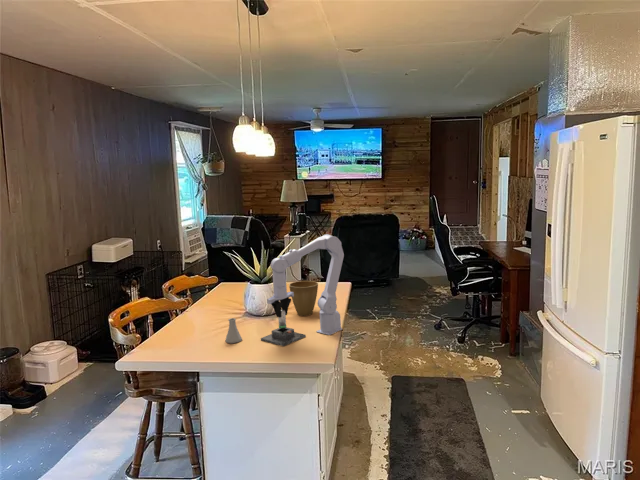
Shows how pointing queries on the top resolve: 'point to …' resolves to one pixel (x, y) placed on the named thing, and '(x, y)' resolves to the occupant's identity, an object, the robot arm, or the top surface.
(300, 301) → the plant pot
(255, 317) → the top surface
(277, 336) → the charcoal stand
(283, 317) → the steel column
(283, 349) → the top surface
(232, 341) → the flask
